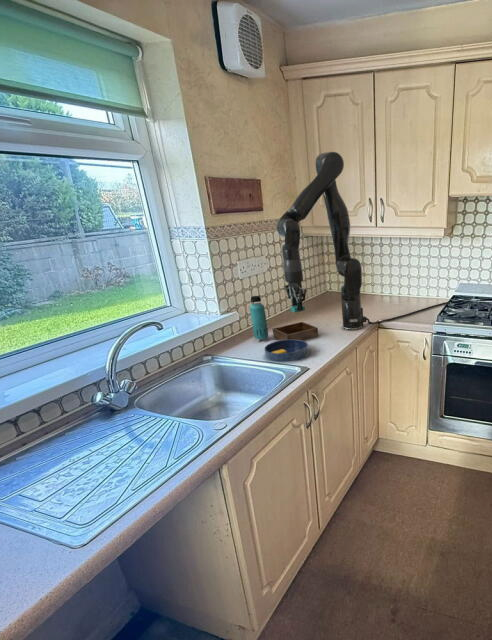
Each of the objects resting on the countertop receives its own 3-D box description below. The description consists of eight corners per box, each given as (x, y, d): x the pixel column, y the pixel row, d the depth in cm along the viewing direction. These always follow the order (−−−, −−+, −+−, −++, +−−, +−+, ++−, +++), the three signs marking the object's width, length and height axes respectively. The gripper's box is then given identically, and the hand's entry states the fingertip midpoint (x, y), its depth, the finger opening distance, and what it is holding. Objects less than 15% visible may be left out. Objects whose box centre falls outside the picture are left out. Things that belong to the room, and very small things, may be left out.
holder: (303, 330, 196) (302, 321, 194) (318, 337, 187) (317, 327, 185) (273, 338, 187) (272, 328, 185) (288, 345, 177) (287, 335, 175)
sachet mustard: (283, 353, 167) (282, 348, 166) (287, 355, 165) (286, 351, 164) (272, 356, 164) (271, 351, 163) (276, 358, 162) (275, 354, 161)
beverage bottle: (256, 343, 180) (249, 298, 172) (253, 339, 186) (246, 295, 177) (270, 341, 183) (264, 296, 175) (267, 337, 188) (261, 293, 180)
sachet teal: (300, 309, 181) (300, 304, 180) (305, 310, 178) (304, 305, 178) (290, 311, 178) (290, 306, 177) (295, 312, 175) (294, 308, 175)
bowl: (295, 345, 178) (294, 336, 176) (316, 355, 166) (316, 346, 164) (258, 354, 168) (257, 346, 166) (278, 366, 156) (277, 357, 154)
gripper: (309, 270, 168) (314, 311, 175) (292, 266, 178) (296, 305, 185) (294, 273, 163) (299, 314, 171) (276, 269, 173) (282, 308, 180)
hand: (297, 309), depth 178 cm, fingers closed on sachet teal, 3 cm apart
